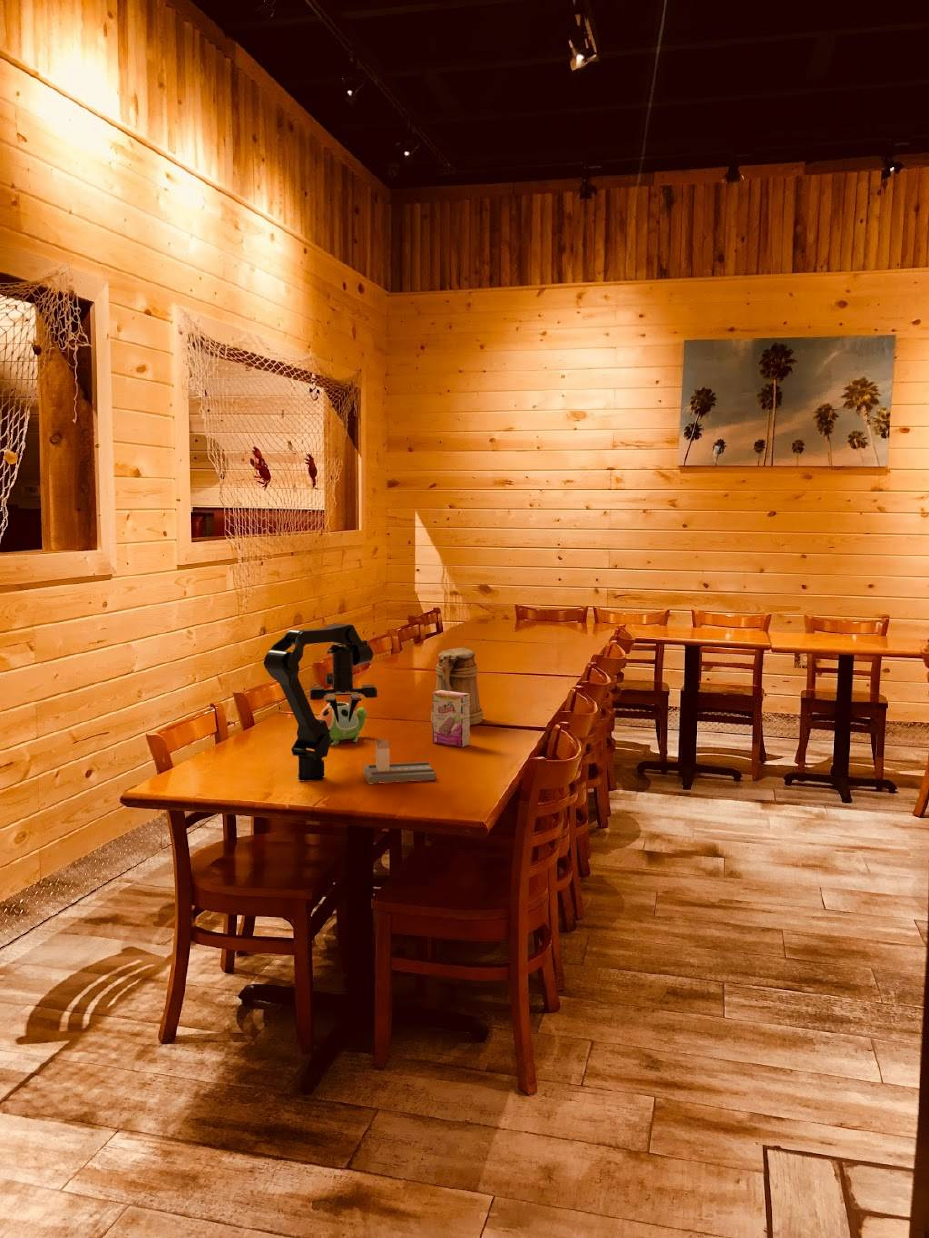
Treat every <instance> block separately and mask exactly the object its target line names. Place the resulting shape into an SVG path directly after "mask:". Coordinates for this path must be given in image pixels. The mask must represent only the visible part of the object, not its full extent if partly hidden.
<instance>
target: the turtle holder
mask: <svg viewBox="0 0 929 1238" xmlns="http://www.w3.org/2000/svg"><path fill="white" fill-rule="evenodd" d="M337 708H338V715H339V723H337V720H336V717H335V714H334V711H333V708H332V706H331V704H330V703H327V704H326V706H325V707H324V708H323V709H322V710H321V712H320V713H319V716H318V719H319V720H325V721H326V723H327V727H328V729H329V730H330V731H331V732H329V733H330V737H331V740H332V741H331V740H330V741H331V742H330V745H329V746H331V747H333V746H332V745H335V746H338V745H339V743H340V740H347V739H348V740H349V739H352V743H353V742H356V743H358V742H357V741H359V735H360V732H361V731H362V730H363V727H364V725H365V723H366V722H365V719H367V717H368V712H367V711H366V709H365V707H364V706H362V707H359V708H357V709H356V710H354V712H353V715H352V718H351V720H350V722H348V713H349V702H343V701H340V702H339V701H337Z"/></svg>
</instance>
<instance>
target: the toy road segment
mask: <svg viewBox="0 0 929 1238" xmlns="http://www.w3.org/2000/svg"><path fill="white" fill-rule="evenodd" d="M389 770H390V771H379V772H378V770H377V768H376V764H367V765H365V764H364V765H363V772H365V773H364V776H365V775H366V776H365V779H366V780H368V781H367V783H368V782H369V783H379V782H396V781H410V780H436V773H435V771H434V768H432V767H431V765H430V761H422V762H421V761H420V762H419V761H418V762H417V761H416V762H401V763H400V762H399V763H389Z"/></svg>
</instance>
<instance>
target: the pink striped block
mask: <svg viewBox="0 0 929 1238" xmlns="http://www.w3.org/2000/svg"><path fill="white" fill-rule="evenodd" d="M390 748H391V747H390V743H389V741H388V739H375V765H376V768H377V770H378V772H379V771H390V770H389V764H390Z"/></svg>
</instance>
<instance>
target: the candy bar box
mask: <svg viewBox="0 0 929 1238" xmlns="http://www.w3.org/2000/svg"><path fill="white" fill-rule="evenodd" d="M432 709H433V722H432V744H439V745H442V746H443V745H445V746H452V747H457V748H465V747H467V746H469V745H470V742H471V741H470V740H471V739H470V738H471V737H470V735H471V734H470V733H471V732H470V731H471V726H470V694H468V693H460V692H452V691H445V690H439V691H436V690H435V691H433V692H432Z"/></svg>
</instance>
